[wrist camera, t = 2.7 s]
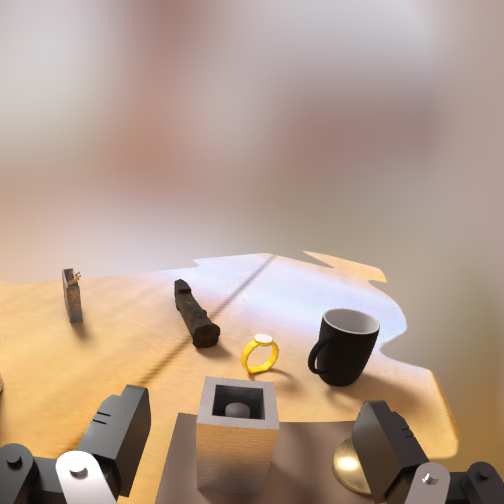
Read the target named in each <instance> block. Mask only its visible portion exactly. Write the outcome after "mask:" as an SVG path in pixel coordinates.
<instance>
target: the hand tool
mask: <svg viewBox="0 0 504 504" xmlns="http://www.w3.org/2000/svg"><path fill="white" fill-rule="evenodd" d="M174 284H175V300H176V301H175V303H176V308H177V310H180V312H181V314H182V317H183V318H184V320H185V322H186V324H187V327H188V329H189V330H190V331H191V333H192V335H193V345H194V346H195V347H196V348H206V347H211V346H214V345H215V344H216V343H217V342H218V338H219V335H220V328H219V326H217V325H216V324H214V323H212V322H211V321H210V319H209V318H208V317H207V312H206V310H203V309H202V308H201V307H200V306H199V304H198V303H197V301H196V300H195V299H194V297H193V296H192V294H191V288H190V287H189V285H188V284H187V283H186V282H185V281H184V280H181V279H179V280H177V281H175V283H174Z"/></svg>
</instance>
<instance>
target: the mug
mask: <svg viewBox="0 0 504 504" xmlns="http://www.w3.org/2000/svg"><path fill="white" fill-rule="evenodd" d="M379 329H380V324H379V322H378V321H377V320H376V319H375V318H373V317H372V316H370V315H368V314H366V313H363V312H360V311H357V310H352V309H344V308H337V309H331V310H328V311H326V312H325V313H324V315H323V318H322V322H321V328H320V334H319V341H318V342H317V343H316V344H315V346H314V347H313V349H312V350H311V352H310V355H309V358H308V367H309V369H310V370H311V371H312V372H313V373H315V374H319V376H320V377H321V378H322V379H323V380H324V381H325V382H327V383H329V384H332V385H337V386H346V385H349V384H352V383H353V382H354V381H355V380H356V379H357V378H358V377H359V376H360V374H361V373H362V371H363V369H364V368H365V366H366V364H367V362H368V359H369V357H370V355H371V353H372V350H373V348H374V345H375V342H376V339H377V336H378V333H379ZM316 357H317V369H315V360H316Z"/></svg>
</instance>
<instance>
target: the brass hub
mask: <svg viewBox="0 0 504 504" xmlns="http://www.w3.org/2000/svg"><path fill="white" fill-rule="evenodd" d="M332 471H333V473H334V476H335V477H336V479H337V480H338V482H339V483H340V484H341V485H342V486H343V487H345V488H346V489H348V490H349V491H351V492H353V493H355V494H358V495H362V496H368V497H372V494H371V491H370V489H369V486H368V483H367V481H366V478H365V475H364V472H363V470H362V467H361V464H360V462H359V459H358V456H357V454H356V451H355V448H354V446H353V443H352V437H350V438H348V439H346V440H344V441H343V442H342V443H341V444H340V445H339V446H338V448H337V450H336V452H335V454H334V456H333V459H332Z"/></svg>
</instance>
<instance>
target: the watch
mask: <svg viewBox="0 0 504 504" xmlns="http://www.w3.org/2000/svg"><path fill="white" fill-rule="evenodd" d="M270 345H272V347H273V349H272V354H271V356H270V358H269V359H268V361H267V362H265V363H264V364H263V365H262V366H256V367H250V368H248V366H247V360H248V356H249V355H250V353H251V352H252V351H253V349H254V348H256V347H257V346H265V347H266V346H270ZM278 354H279V349H278V346H277V344H276V343H275V342H274V341H273V339H272V337H270V336H269V335H265V334H257V335H255V337H254V340H253V341H252V342H250V343H249V344H248V345H247V346H246V347H245V349H244V350H243V352H242V355H241V363H242V366H243V367H244V368H245V369H246V370H247V371H248V372H249V373H251V374H253V373H257V372H263V371H267V370H268V369H270V368H271V367H272V366H273V365H274V363H275V362H276V360H277V358H278Z"/></svg>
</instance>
